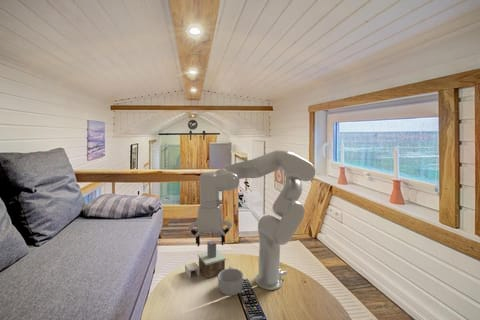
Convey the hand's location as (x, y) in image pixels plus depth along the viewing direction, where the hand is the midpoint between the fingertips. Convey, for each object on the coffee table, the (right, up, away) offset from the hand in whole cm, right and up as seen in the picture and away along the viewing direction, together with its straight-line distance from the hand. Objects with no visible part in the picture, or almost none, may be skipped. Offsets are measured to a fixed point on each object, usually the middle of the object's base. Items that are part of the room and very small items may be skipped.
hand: (210, 244), depth 101 cm
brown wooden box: (-2, -22, +22) cm, 31 cm away
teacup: (+8, -23, +9) cm, 26 cm away
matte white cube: (-11, -22, +20) cm, 31 cm away
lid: (-2, -14, +21) cm, 25 cm away
